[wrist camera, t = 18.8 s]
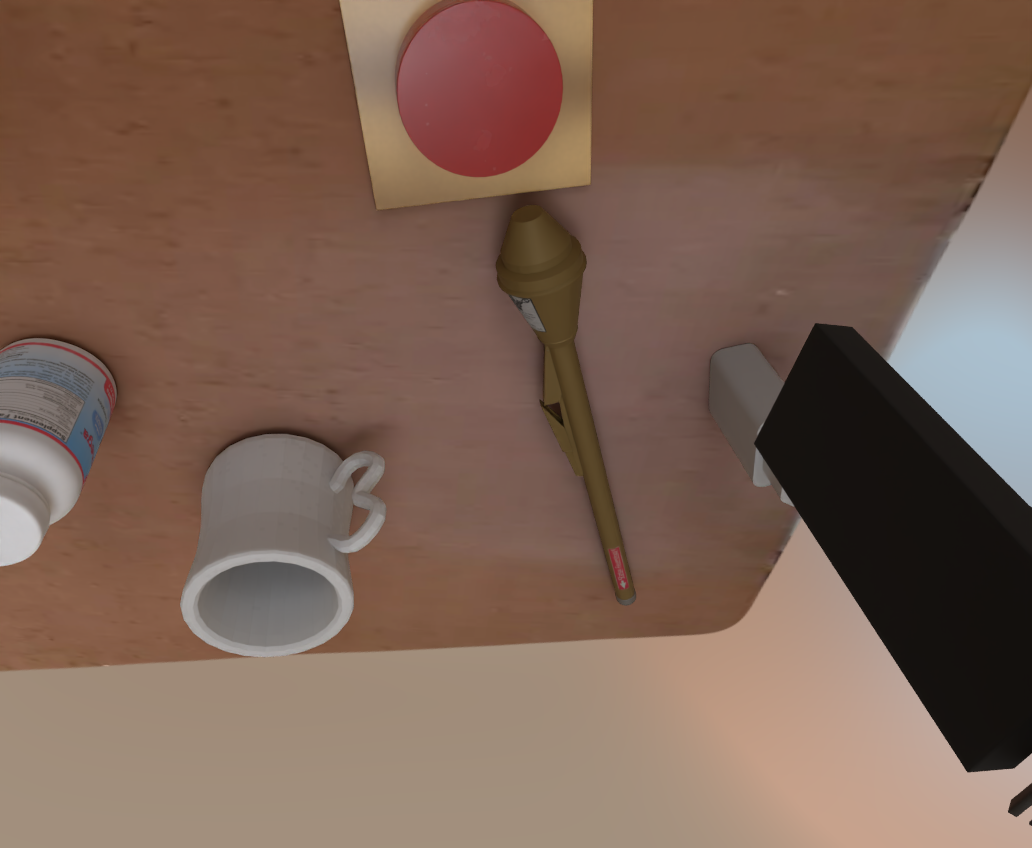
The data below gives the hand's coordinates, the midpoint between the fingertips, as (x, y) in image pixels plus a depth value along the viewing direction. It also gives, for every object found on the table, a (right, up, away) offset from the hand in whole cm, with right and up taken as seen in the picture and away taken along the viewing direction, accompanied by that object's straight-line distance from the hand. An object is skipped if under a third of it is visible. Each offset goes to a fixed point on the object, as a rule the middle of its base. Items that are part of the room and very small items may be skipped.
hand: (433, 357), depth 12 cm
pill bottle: (-24, +1, +29) cm, 37 cm away
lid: (0, +14, +21) cm, 25 cm away
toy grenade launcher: (+6, -2, +38) cm, 38 cm away
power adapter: (+15, +2, +37) cm, 40 cm away
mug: (-12, -4, +36) cm, 38 cm away
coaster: (-1, +15, +23) cm, 27 cm away
